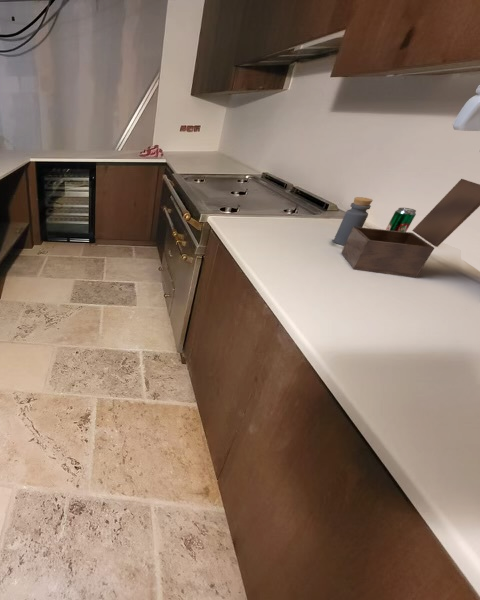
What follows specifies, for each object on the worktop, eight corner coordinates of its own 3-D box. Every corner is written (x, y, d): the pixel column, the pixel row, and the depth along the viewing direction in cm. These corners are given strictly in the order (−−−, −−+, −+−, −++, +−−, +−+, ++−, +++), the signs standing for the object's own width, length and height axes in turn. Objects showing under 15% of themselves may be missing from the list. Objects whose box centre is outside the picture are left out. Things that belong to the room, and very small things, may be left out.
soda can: (380, 240, 113) (398, 206, 106) (398, 244, 110) (418, 209, 103) (377, 244, 110) (396, 209, 103) (397, 248, 107) (417, 212, 100)
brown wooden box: (353, 269, 93) (367, 240, 89) (341, 253, 103) (353, 226, 99) (416, 277, 89) (434, 248, 84) (396, 259, 99) (412, 232, 94)
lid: (492, 188, 75) (496, 190, 75) (461, 178, 85) (464, 179, 85) (434, 245, 84) (437, 247, 84) (411, 230, 94) (414, 231, 94)
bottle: (330, 242, 111) (350, 198, 103) (336, 238, 114) (355, 195, 106) (351, 247, 107) (372, 202, 99) (355, 243, 110) (377, 199, 102)
